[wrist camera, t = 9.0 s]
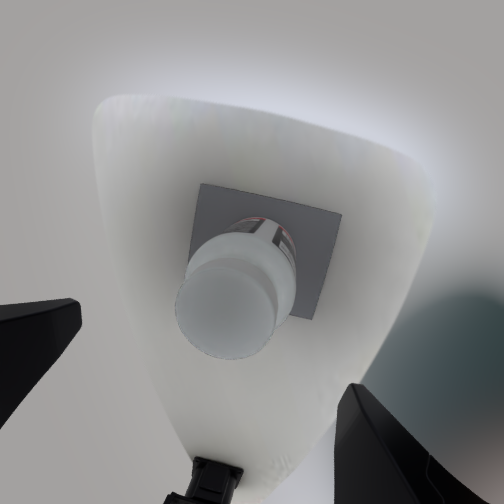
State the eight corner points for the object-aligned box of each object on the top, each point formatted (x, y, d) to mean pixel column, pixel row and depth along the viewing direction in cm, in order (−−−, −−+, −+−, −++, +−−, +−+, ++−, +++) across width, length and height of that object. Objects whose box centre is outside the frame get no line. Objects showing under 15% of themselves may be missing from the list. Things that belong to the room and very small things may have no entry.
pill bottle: (211, 274, 20) (149, 343, 11) (233, 205, 19) (173, 225, 10) (280, 300, 20) (265, 389, 11) (307, 231, 19) (318, 279, 9)
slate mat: (311, 317, 20) (311, 319, 20) (186, 285, 22) (184, 287, 21) (341, 214, 18) (341, 215, 18) (202, 183, 19) (200, 183, 19)
